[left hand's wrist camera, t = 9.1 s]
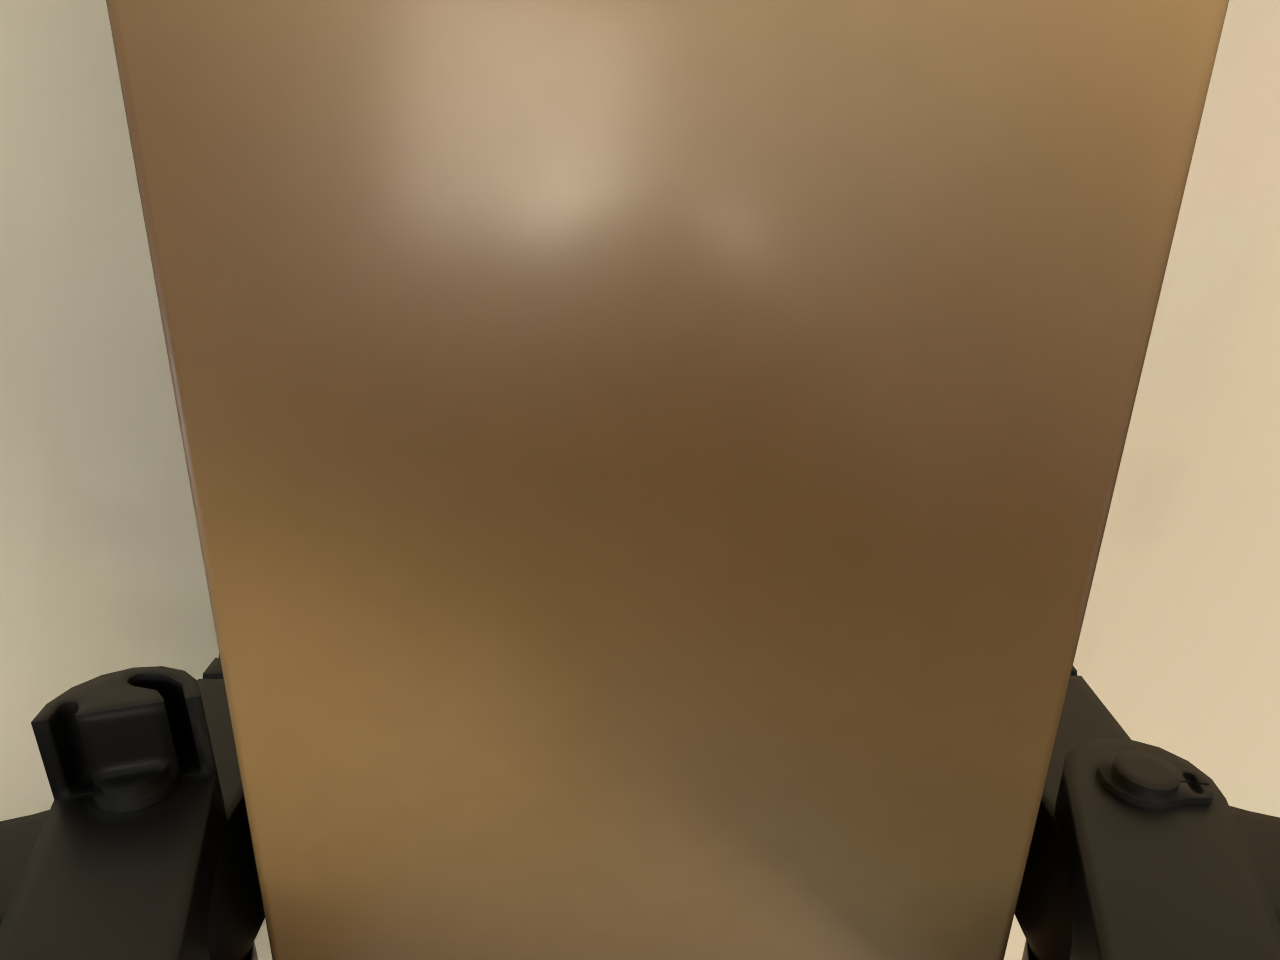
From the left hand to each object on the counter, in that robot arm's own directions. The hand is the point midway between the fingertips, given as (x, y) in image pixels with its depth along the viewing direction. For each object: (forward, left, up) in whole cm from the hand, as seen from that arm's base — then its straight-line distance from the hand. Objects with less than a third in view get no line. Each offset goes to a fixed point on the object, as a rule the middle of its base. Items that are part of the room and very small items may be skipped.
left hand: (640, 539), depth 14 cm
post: (+31, -14, -1) cm, 33 cm away
